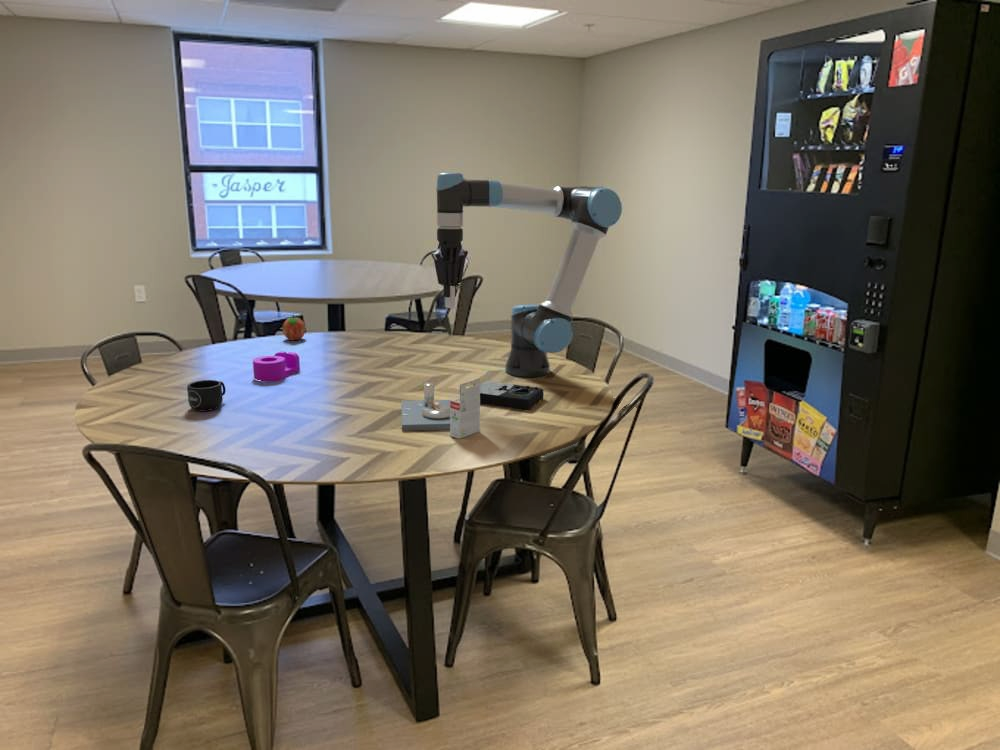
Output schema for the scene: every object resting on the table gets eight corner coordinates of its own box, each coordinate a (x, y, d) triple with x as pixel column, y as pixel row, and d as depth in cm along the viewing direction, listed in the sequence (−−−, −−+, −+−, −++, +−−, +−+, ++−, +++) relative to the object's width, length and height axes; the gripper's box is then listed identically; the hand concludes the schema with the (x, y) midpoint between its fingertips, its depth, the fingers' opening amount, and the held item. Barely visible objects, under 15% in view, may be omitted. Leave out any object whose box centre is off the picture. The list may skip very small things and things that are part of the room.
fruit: (279, 341, 294) (277, 316, 291) (289, 336, 303) (288, 311, 301) (300, 342, 293) (298, 317, 290) (310, 337, 302) (308, 312, 299)
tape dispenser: (274, 383, 239) (273, 364, 238) (247, 380, 242) (246, 361, 240) (301, 371, 254) (300, 353, 252) (276, 368, 257) (275, 350, 255)
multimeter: (528, 412, 216) (528, 395, 215) (467, 403, 224) (467, 387, 222) (543, 400, 228) (544, 384, 227) (485, 391, 235) (486, 376, 234)
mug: (206, 415, 208) (204, 390, 206) (182, 410, 212) (179, 385, 210) (237, 403, 219) (235, 379, 217) (214, 399, 222) (212, 375, 220)
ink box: (449, 436, 195) (449, 382, 191) (470, 428, 201) (470, 376, 197) (459, 439, 193) (459, 385, 189) (480, 432, 199) (481, 378, 195)
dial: (459, 417, 205) (459, 395, 203) (427, 421, 201) (427, 398, 200) (442, 402, 217) (442, 381, 216) (412, 405, 214) (412, 384, 212)
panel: (470, 404, 221) (470, 398, 221) (477, 428, 201) (477, 422, 201) (401, 406, 219) (401, 400, 218) (402, 430, 198) (402, 424, 198)
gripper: (456, 225, 227) (456, 303, 233) (424, 227, 217) (425, 308, 224) (474, 227, 222) (474, 306, 228) (442, 229, 212) (442, 312, 219)
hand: (450, 307), depth 226 cm, fingers closed
